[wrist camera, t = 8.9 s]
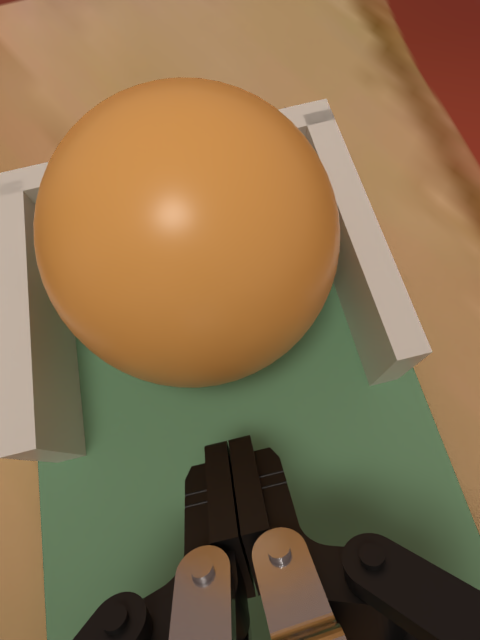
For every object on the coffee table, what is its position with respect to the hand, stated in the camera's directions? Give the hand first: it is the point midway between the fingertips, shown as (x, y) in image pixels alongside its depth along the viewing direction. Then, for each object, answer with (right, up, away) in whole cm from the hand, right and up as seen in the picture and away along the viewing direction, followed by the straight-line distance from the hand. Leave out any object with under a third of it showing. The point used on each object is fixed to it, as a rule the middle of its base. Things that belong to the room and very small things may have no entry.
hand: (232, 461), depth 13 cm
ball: (-1, +7, +1) cm, 7 cm away
